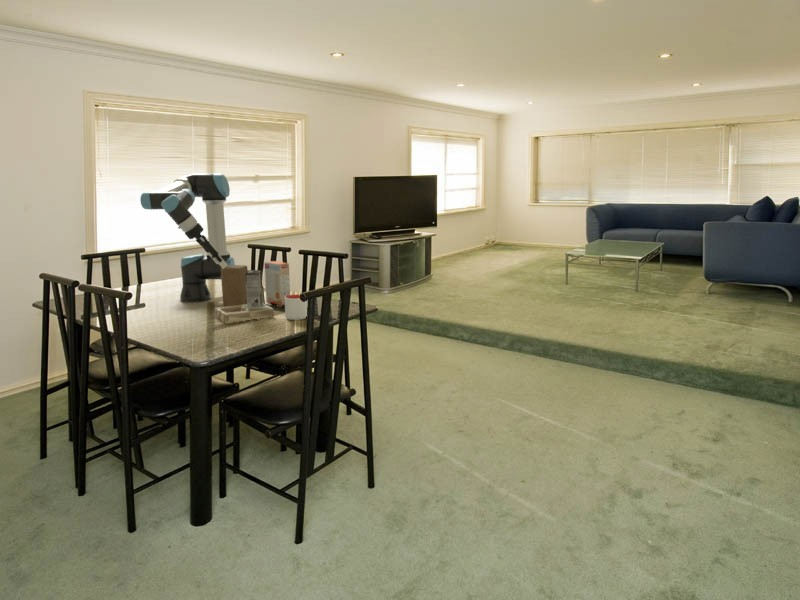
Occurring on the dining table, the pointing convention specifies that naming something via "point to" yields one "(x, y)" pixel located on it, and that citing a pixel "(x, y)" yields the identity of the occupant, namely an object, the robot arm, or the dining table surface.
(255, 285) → the coffee box
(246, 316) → the hole board
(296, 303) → the cup
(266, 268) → the cracker box
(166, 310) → the dining table surface
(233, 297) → the wooden block
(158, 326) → the dining table surface
